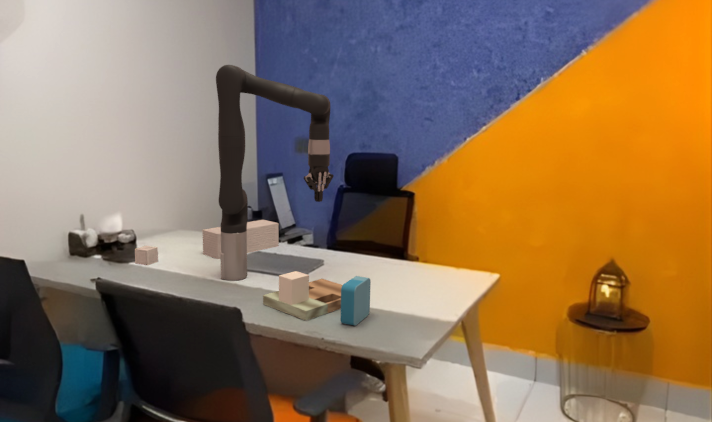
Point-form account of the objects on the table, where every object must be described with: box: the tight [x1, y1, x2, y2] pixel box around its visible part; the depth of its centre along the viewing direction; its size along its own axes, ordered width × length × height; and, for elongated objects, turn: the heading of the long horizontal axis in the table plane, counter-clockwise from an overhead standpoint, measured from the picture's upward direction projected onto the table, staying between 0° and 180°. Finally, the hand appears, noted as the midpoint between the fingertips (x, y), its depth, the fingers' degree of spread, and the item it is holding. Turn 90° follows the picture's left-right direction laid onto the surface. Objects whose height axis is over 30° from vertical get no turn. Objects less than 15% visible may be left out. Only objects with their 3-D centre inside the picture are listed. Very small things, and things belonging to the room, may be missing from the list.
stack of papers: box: [201, 219, 280, 260], centre depth 253 cm, size 32×11×11 cm, turn 138°
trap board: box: [262, 278, 343, 321], centre depth 190 cm, size 26×20×3 cm
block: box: [278, 270, 310, 305], centre depth 182 cm, size 7×6×8 cm
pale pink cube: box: [134, 245, 159, 266], centre depth 231 cm, size 6×6×6 cm
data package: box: [340, 275, 372, 327], centre depth 175 cm, size 12×4×12 cm, turn 157°
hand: (318, 201), depth 208 cm, fingers closed
